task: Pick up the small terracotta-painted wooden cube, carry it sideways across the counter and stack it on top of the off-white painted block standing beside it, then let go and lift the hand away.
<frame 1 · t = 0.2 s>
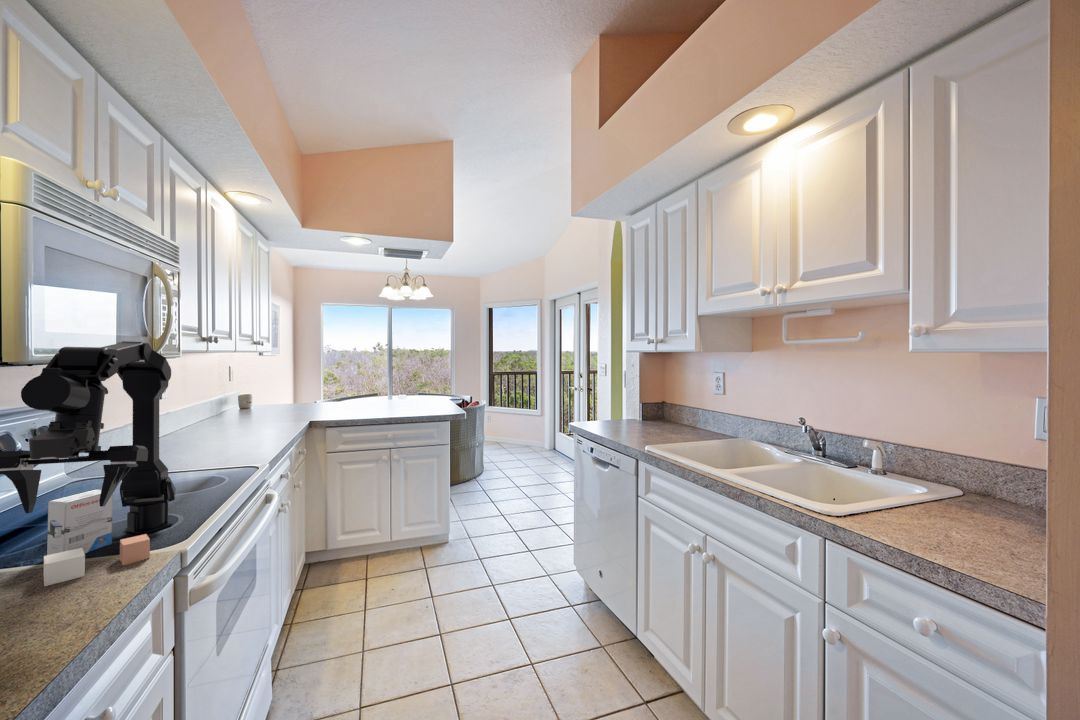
hand: (66, 509, 75), 15 cm above the counter, tool pointing down, fingers open, 9 cm apart
off-white block: (64, 577, 83), on the counter
terracotta cube: (134, 559, 90), on the counter
ink box: (81, 552, 93), on the counter
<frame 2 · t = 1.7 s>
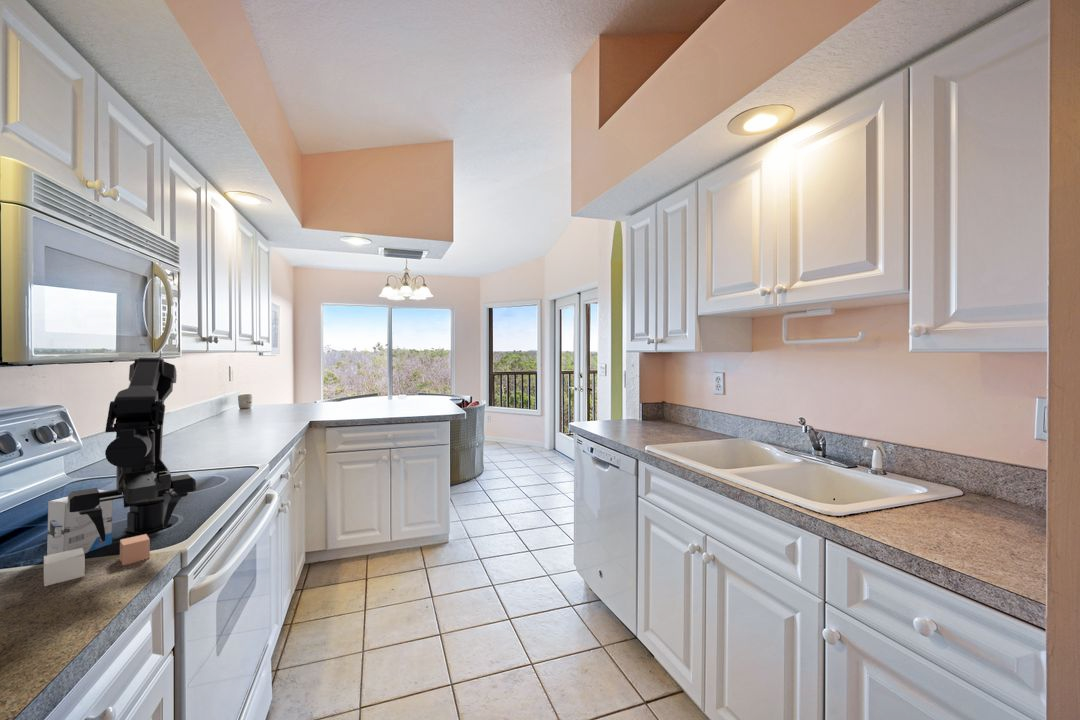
hand: (135, 533, 90), 5 cm above the counter, tool pointing down, fingers open, 9 cm apart
nothing on the counter moved.
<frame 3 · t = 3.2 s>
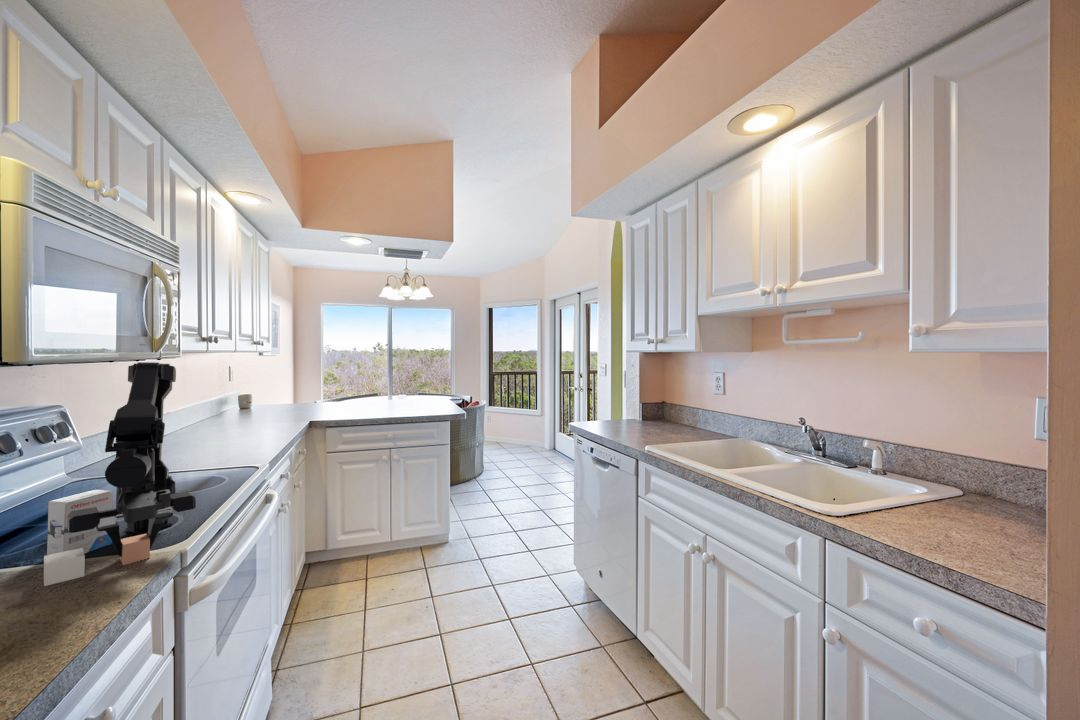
hand: (134, 552, 90), 1 cm above the counter, tool pointing down, fingers closed on terracotta cube, 4 cm apart
terracotta cube: (134, 558, 90), on the counter, touching gripper
everything else where it was.
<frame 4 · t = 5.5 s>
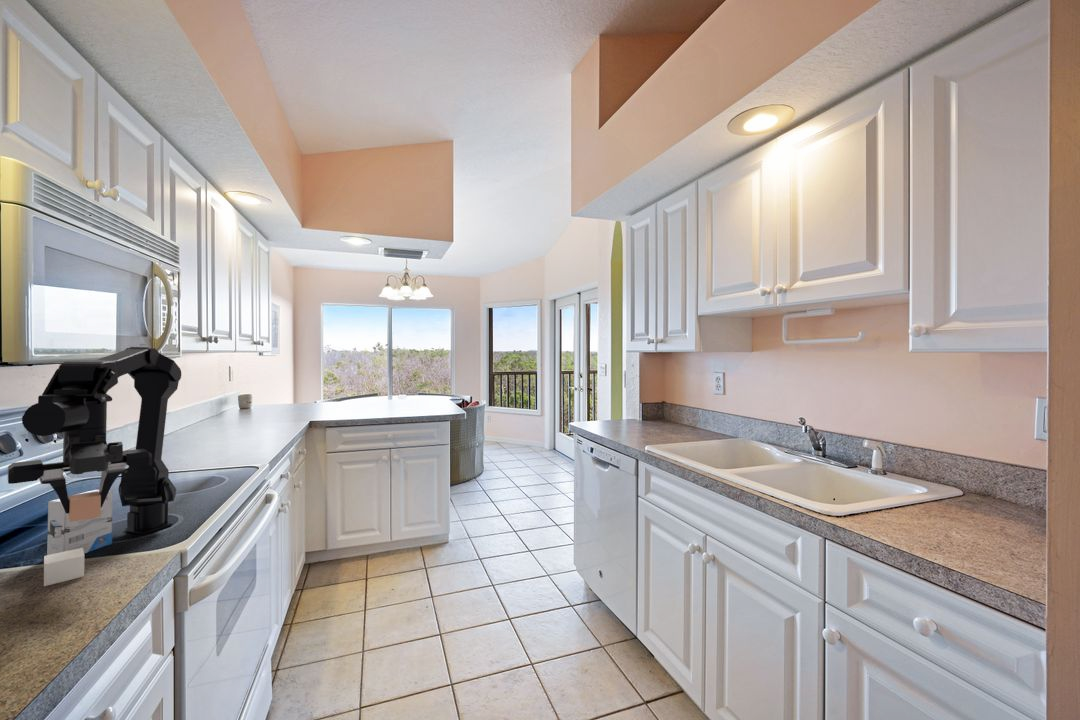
hand: (84, 510, 84), 12 cm above the counter, tool pointing down, fingers closed on terracotta cube, 4 cm apart
terracotta cube: (84, 516, 84), point 10 cm above the counter, touching gripper
everything else where it was.
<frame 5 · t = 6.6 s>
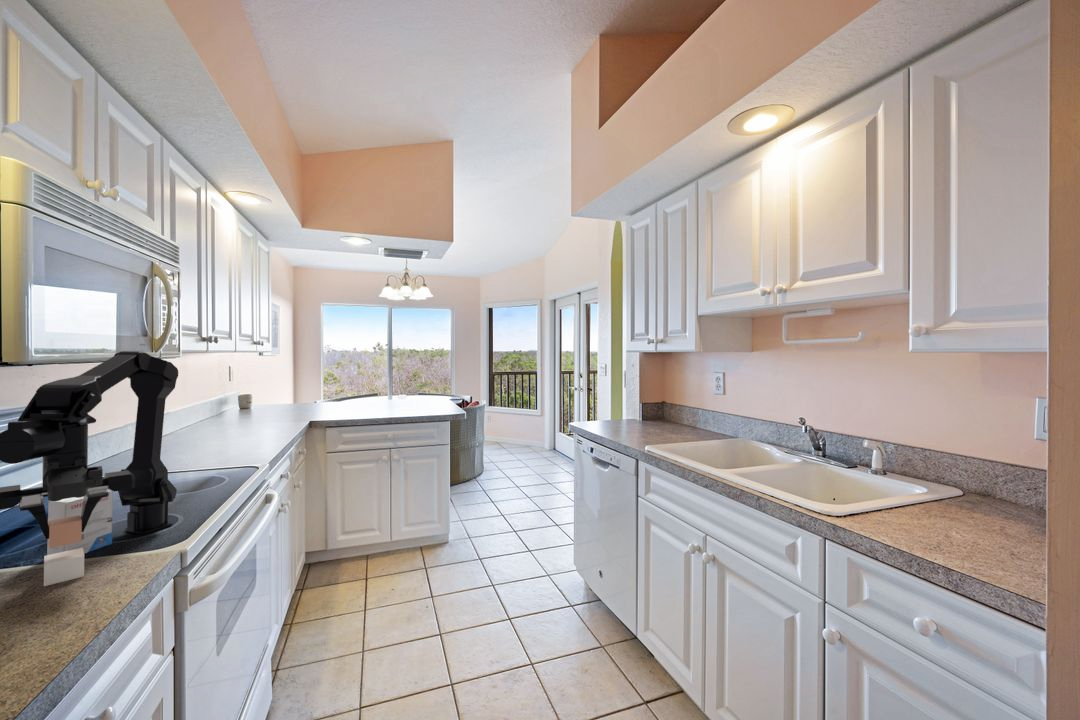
hand: (65, 535, 83), 8 cm above the counter, tool pointing down, fingers closed on terracotta cube, 4 cm apart
terracotta cube: (65, 541, 83), point 6 cm above the counter, touching gripper
everything else where it was.
when the fingers open (6 cm above the counter, at t = 7.6 s): terracotta cube drops 1 cm, resting on off-white block.
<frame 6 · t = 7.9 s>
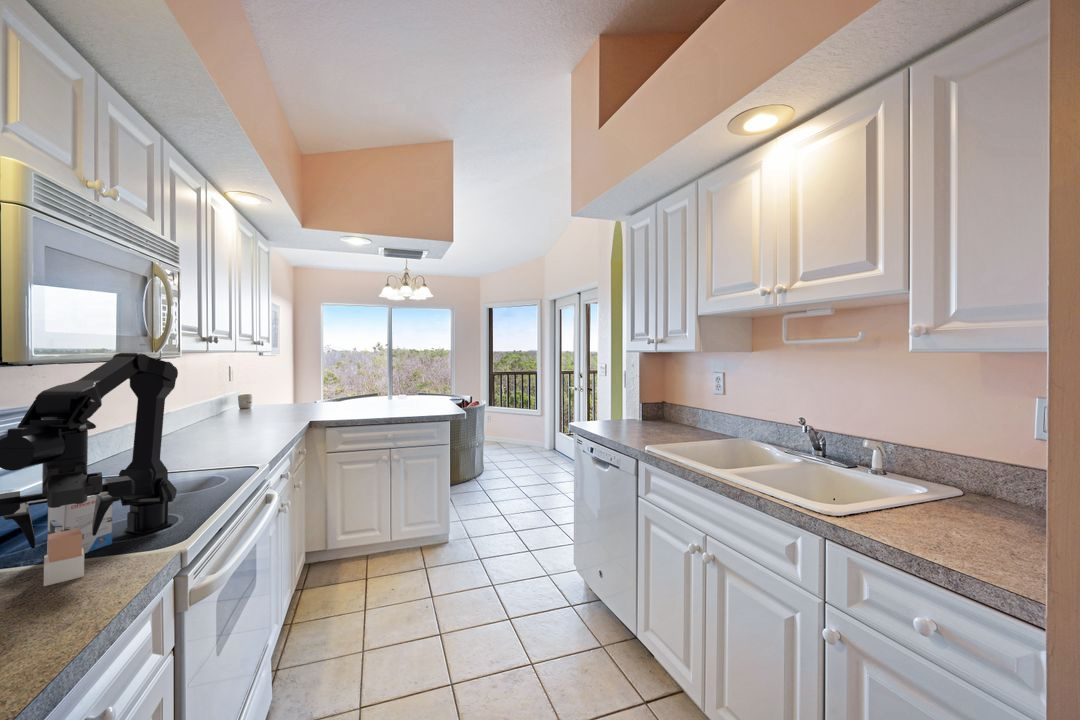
hand: (64, 541, 83), 6 cm above the counter, tool pointing down, fingers open, 7 cm apart
off-white block: (64, 577, 83), on the counter, touching terracotta cube
terracotta cube: (64, 555, 83), point 4 cm above the counter, touching off-white block
everything else where it was.
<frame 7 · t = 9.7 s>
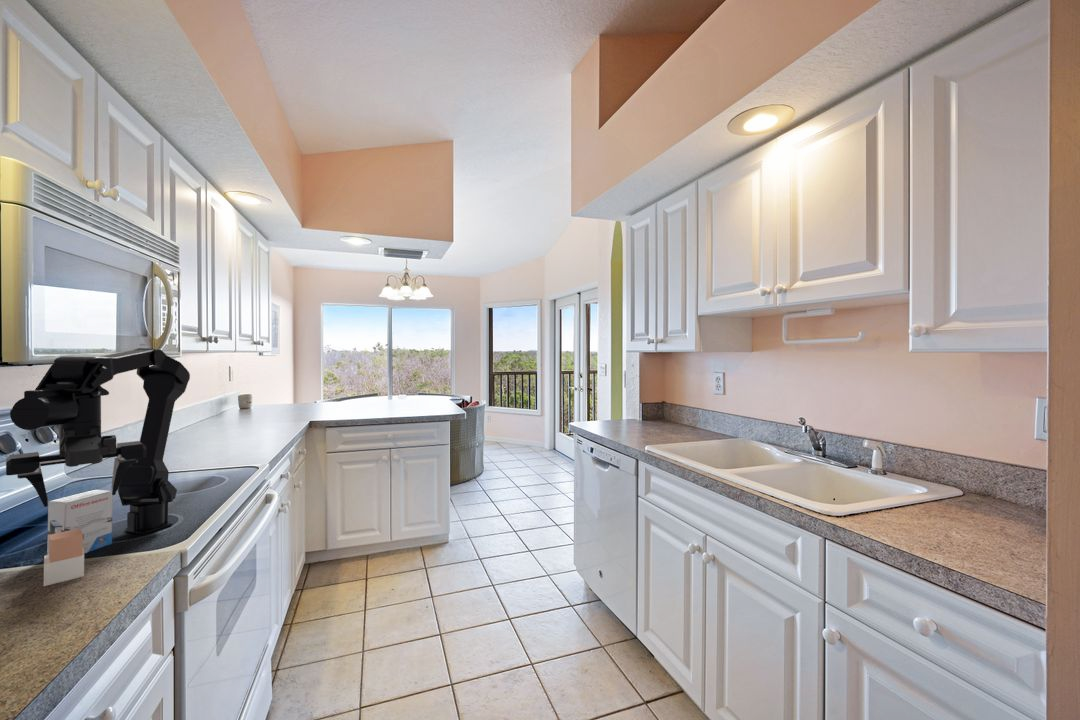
hand: (81, 500, 87), 13 cm above the counter, tool pointing down, fingers open, 9 cm apart
off-white block: (64, 577, 83), on the counter
terracotta cube: (65, 555, 83), point 4 cm above the counter
everything else where it was.
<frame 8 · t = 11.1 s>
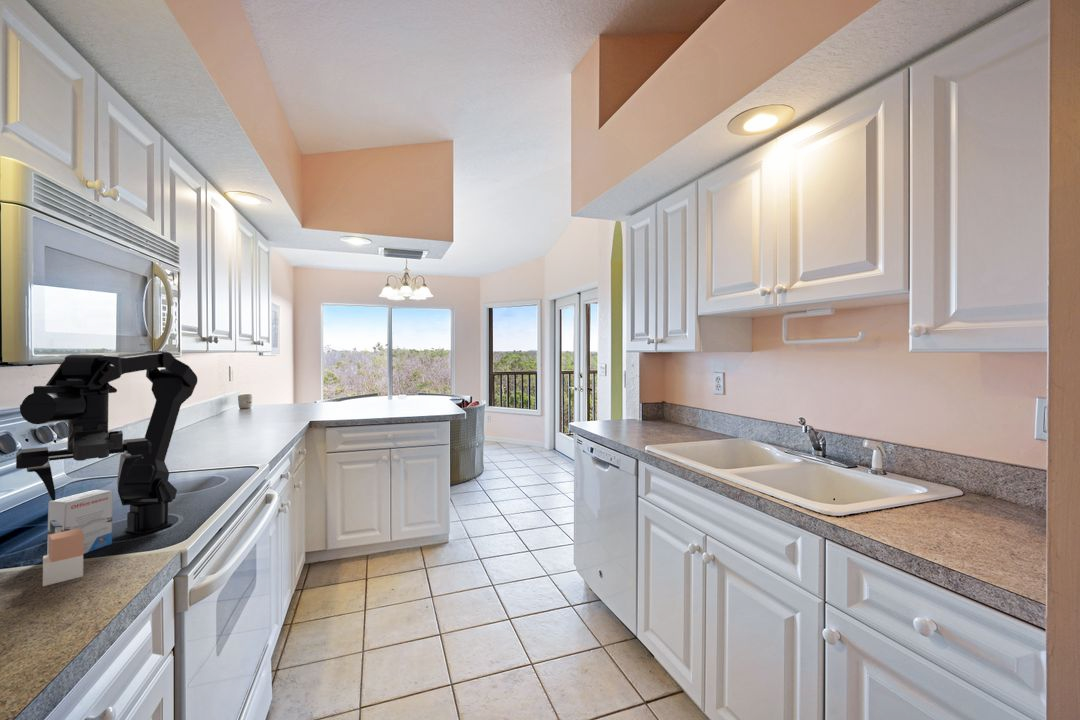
hand: (87, 494, 89), 13 cm above the counter, tool pointing down, fingers open, 9 cm apart
off-white block: (63, 577, 83), on the counter, touching terracotta cube
terracotta cube: (66, 555, 83), point 4 cm above the counter, touching off-white block
everything else where it was.
at the end: terracotta cube 0.5 cm off-centre on the off-white block, point 4.0 cm above the off-white block's base; terracotta cube tilted 0°; the gripper is holding nothing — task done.
